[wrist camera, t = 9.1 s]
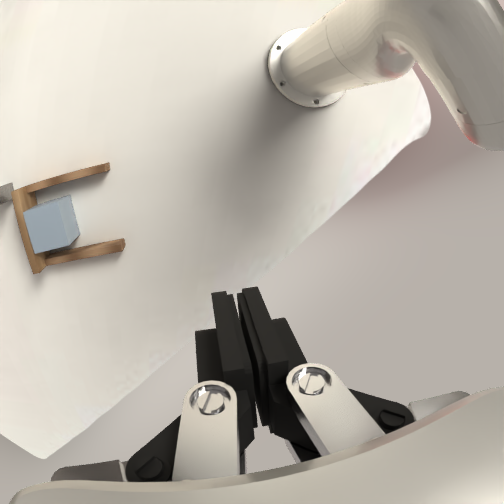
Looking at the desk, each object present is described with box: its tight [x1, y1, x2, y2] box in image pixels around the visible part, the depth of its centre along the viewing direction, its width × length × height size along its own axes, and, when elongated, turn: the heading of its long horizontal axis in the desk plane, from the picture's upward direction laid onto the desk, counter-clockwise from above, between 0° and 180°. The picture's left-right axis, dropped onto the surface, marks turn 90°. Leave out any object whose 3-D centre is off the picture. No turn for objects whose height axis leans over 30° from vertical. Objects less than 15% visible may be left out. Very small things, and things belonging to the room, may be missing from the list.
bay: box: [11, 163, 125, 274], centre depth 35 cm, size 14×12×5 cm
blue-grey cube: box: [23, 195, 80, 254], centre depth 35 cm, size 6×6×5 cm
